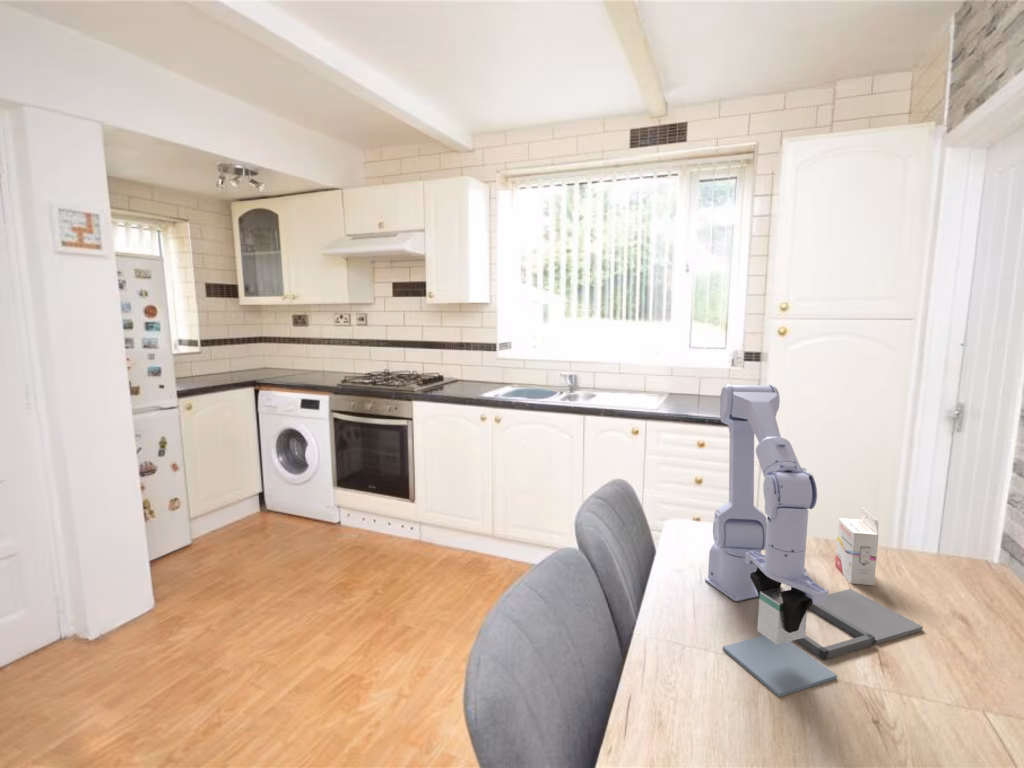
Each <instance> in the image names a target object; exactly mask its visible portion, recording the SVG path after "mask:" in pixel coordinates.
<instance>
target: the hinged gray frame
mask: <svg viewBox="0 0 1024 768" xmlns="http://www.w3.org/2000/svg"><path fill="white" fill-rule="evenodd" d="M808 610H810V611H812V612H813V613H814V614H816V615H818V616H820V617H821V618H822V619H824V620H826V621H828V622H829V623H831V624H833V625H834V626H836V627H838V628H839V629H841V630H843V631H844V632H846V633H847V634H849V635H851V636H853V637H854V638H850V639H847V640H844V641H840V642H837V643H833V644H829V645H827V646H822V645H821V644H819V643H817V642H816V641H815V640H814V639H812V638H810V637H808V636H807V635H806V634H805V638H801V639H797V640H794V641H795V642H797V643H798V644H800V645H801V646H802V647H803V648H805V649H807V650H808V651H810V652H811V653H812V654H814V655H815V656H817V657H818V658H819V659H820V660H823V661H825V660H826V661H827V660H829V659H833V658H836V657H839V656H842V655H845V654H849V653H852V652H856V651H859V650H863V649H866V648H868V647H872V646H874V645H878V644H882V643H885V642H888V641H892V640H896V639H899V638H901V637H906V636H909V635H912V634H914V633H918V632H922V631H923V628H924V627H923V626H922V625H921V624H919V623H917V622H915V621H913V620H911V619H909V618H907V617H906V616H903V615H902V614H899V612H896V611H894V610H892V609H890V608H888V607H886V606H884V605H882V604H880V603H878V602H877V601H876V600H875V601H874V600H872V599H871V598H869V597H867V596H865V595H863V594H861V593H860V592H858V591H856V590H854V589H852V588H849V589H846V590H841V591H837V592H833V593H830V594H829V593H828V601H827V603H825V604H821V605H816V604H815V603H812V605H811V606H810V607H809V608H808Z"/></svg>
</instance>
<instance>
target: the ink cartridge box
mask: <svg viewBox="0 0 1024 768" xmlns="http://www.w3.org/2000/svg"><path fill="white" fill-rule="evenodd" d="M868 518H869V519H868ZM836 539H837V540H836V549H835V550H836V552H835V562H834V563H835V567H836V568H837V569H838V570H839V571H840V573H841V574H842V575H843V576H844V577H845V579H846V580H847V582H849V584H853V585H855V584H856V585H866V586H867V585H868V586H874V585H875V579H876V578H875V577H876V570H877V557H878V547H879V546H878V545H879V520H878V519H877V518H875V517H874V516H873V515H872V514H871V513H870V512H869V511H867V510H866V509H865V508H864V507H860V519H858V518H843V517H839V519H838V527H837V538H836Z"/></svg>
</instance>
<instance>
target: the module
mask: <svg viewBox="0 0 1024 768" xmlns="http://www.w3.org/2000/svg"><path fill="white" fill-rule="evenodd" d="M786 590H791V587H790V586H788V585H784V586H781V587H778V588H773V589H769V590H764V591H760V598H759V597H758V598H759V599H758V601H759V602H758V614H757V616H758V617H757V628H756V630H757V632H759V633H760V634H761V635H762V636H765V637H767V638H768V639H770V640H771V641H772V642H774V643H775V644H776V645H777V644H781V643H785V642H792V641H795V640H797V639H801V638H805V635H806V629H807V619H808V618H807V616H808V610H807V611H806V613H805V615H804V617H803V619H802V621H801V624H800V626H799V629H798V631H795V632H791V633H788V632H787V631H786V630H785V610H784V604H783V600H782V597H781V594H780V593H781V592H782V591H786Z"/></svg>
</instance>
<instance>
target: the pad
mask: <svg viewBox="0 0 1024 768" xmlns="http://www.w3.org/2000/svg"><path fill="white" fill-rule="evenodd" d="M722 651H724V652H725V653H726V654H727V655H728V656H730V658H732V659H733V660H734V661H736V662H737V663H738V664H739V665H740V666H741V667H742V668H744V669H745V670H746V671H747V672H749V673H750V674H751V675H752V676H754V678H756V679H757V680H758V681H759V682H760V683H761V684H763V685H764V686H765V687H767V688H768V689H769V691H771V692H772V693H773V694H775V695H776V697H778V698H781V697H784V696H787V695H790V694H793V693H794V694H795V693H796V692H799V691H802V690H803V691H804V690H805V689H809V688H812V687H815V686H819V685H821V684H825V683H828V682H831V681H833V680H837V678H838V675H837V674H836V673H835V672H833V671H832V670H830V669H829V668H828V667H826V666H825V665H824V664H822V663H821V662H819V661H818V660H816V659H815V658H813V657H812V656H811V655H809V654H807V653H806V652H805V651H804V650H802V649H801V648H799V646H796V645H795V644H794V643H793V642H792V641H789V642H785V643H781V644H777V645H776V644H775V643H774V642H772V641H771V640H770V639H768V638H767V637H765V636H764V635H760V636H756V637H753V638H750V639H746V640H741V641H737V642H733V643H730V644H727V645H722Z"/></svg>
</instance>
